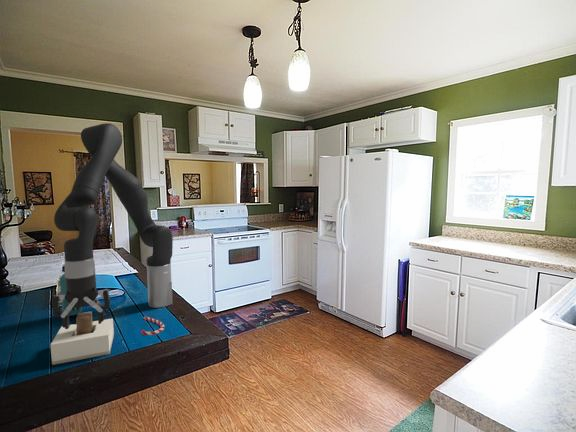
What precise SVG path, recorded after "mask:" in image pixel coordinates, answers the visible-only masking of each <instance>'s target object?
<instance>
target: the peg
mask: <svg viewBox="0 0 576 432" xmlns="http://www.w3.org/2000/svg"><path fill="white" fill-rule="evenodd" d="M75 321H76V323H75V324H76V325H77V335H83V334H89V333H93V311H87V312H86V311H84V312H80V313H78V314H76V318H75Z"/></svg>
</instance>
